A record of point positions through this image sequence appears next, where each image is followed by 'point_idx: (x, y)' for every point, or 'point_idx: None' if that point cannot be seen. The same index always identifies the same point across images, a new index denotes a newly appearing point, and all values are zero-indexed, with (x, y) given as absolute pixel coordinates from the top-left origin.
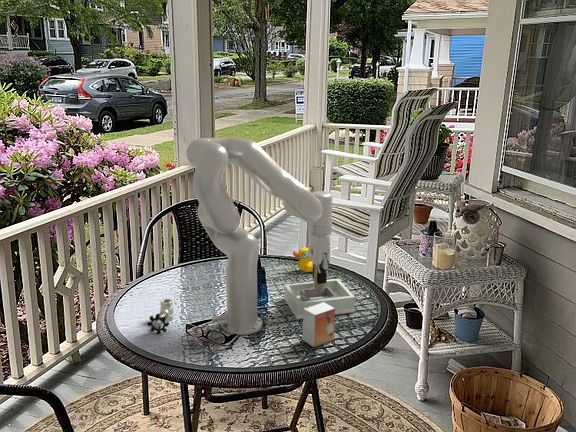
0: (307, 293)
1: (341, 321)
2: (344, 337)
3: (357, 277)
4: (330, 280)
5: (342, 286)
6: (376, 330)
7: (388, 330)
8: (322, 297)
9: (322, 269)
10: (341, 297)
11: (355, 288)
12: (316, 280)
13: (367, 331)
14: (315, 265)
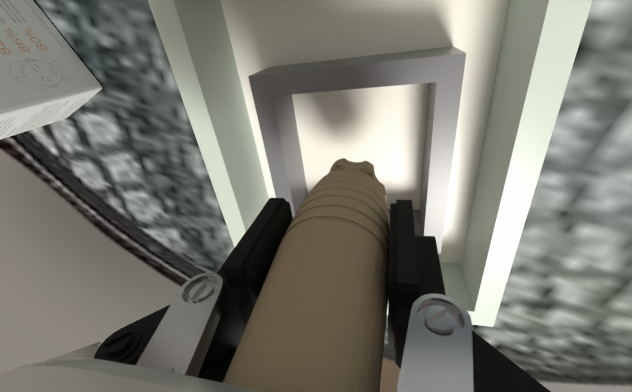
0: (431, 106)
1: (206, 185)
2: (96, 157)
3: (597, 375)
4: (489, 289)
5: None
6: (162, 254)
7: (167, 277)
8: (402, 183)
9: (102, 343)
10: None
11: (485, 328)
12: (303, 207)
13: (151, 232)
14: (270, 338)
